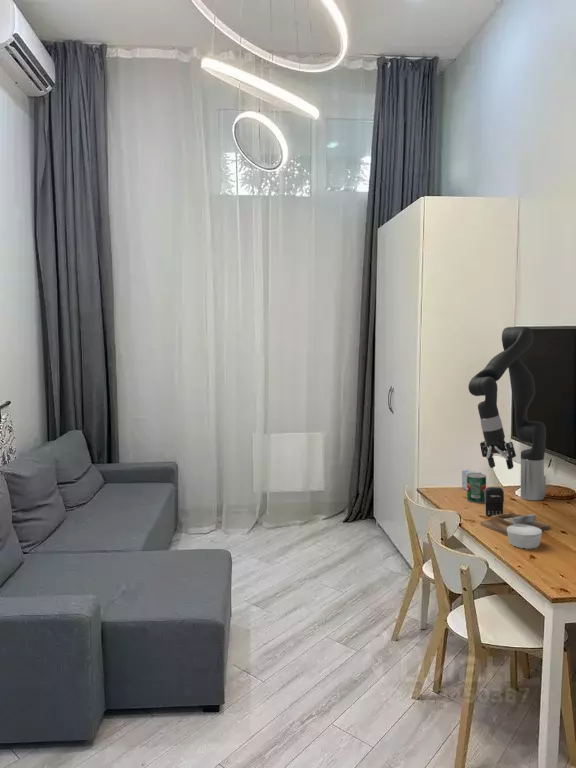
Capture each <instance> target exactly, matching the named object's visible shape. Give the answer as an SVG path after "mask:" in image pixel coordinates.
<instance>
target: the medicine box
mask: <svg viewBox="0 0 576 768" xmlns="http://www.w3.org/2000/svg"><path fill="white" fill-rule="evenodd" d="M470 473H480V474H482V472H481V471H476V470H472V469H470V468H469V469H464V470H461V484H462V487H461V488H462V489H463V490H466V491H467V474H470Z"/></svg>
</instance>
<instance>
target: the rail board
mask: <svg viewBox="0 0 576 768" xmlns="http://www.w3.org/2000/svg"><path fill="white" fill-rule="evenodd" d="M480 524H482V525H481V526H483V525H484V526H483V527H485V526H486V528H487V527H488V528H487V529H490V530H492V531H494V532H497V533H499V534H501V533H502V535H504V536H506V537H508V532H507V527H508V526H511V525H529V526H534V527H537V528H539V529H541V530H542V531H545V530H551V525H550V524H548V523H545V522H542V521H539V520H536V514H534V513H531V514H527V515H523V514H522V513H521V514H516V513H514V512H506V513H503V514H499V515H494V516H490V519H487V520H481V521H480Z"/></svg>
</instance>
